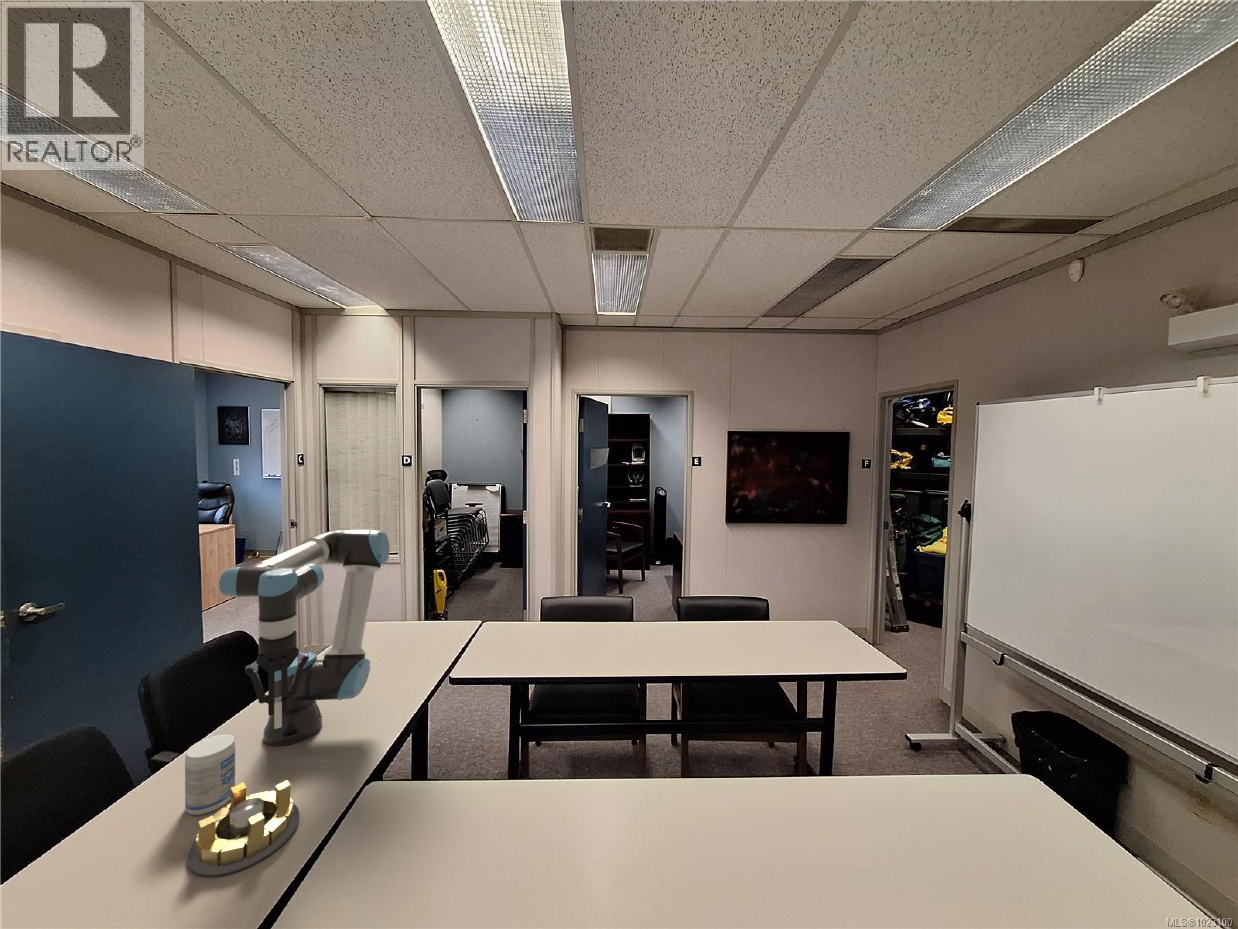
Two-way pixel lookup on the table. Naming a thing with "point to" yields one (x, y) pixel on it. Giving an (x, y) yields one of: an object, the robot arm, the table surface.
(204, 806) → the supplement tub
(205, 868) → the spindle base
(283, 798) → the yellow block ring
